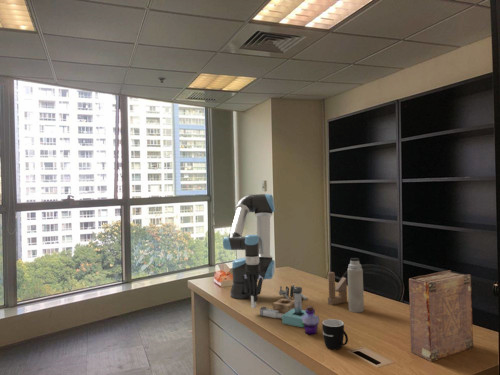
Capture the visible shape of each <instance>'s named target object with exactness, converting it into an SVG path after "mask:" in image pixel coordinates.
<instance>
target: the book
mask: <svg viewBox="0 0 500 375" xmlns="http://www.w3.org/2000/svg"><path fill="white" fill-rule="evenodd" d="M408 292H409V293H408V294H409V320H410V321H409V322H410V323H409V325H410V350H411V351H410V352H411V354H414V355H416V356H418V357H420V358H422V359H424V358H425V360H426V359H427V361H429V362H431V361H432V362H434V361H433V360H435V361H437V360H436V359H438V360H441V359H443V357H444V358H446V356H447V357H449V355H450V356H452V354H453V355H456V354H459V353H462V352H465V351H468V350H470V348H471V349H473V348H474V331H473V330H474V328H473V326H474V325H473V305H472V304H473V303H472V276H471V274H461V273H455V272H452V271H451V269H450V270H445V271H438V272H434V273H430V274H425V275H418V276H414V277H410V278H408ZM467 349H468V350H467ZM461 351H462V352H461ZM458 352H459V353H458ZM455 353H456V354H455ZM440 358H441V359H440Z"/></svg>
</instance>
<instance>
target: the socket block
mask: <svg viewBox="0 0 500 375" xmlns="http://www.w3.org/2000/svg"><path fill="white" fill-rule="evenodd" d="M304 315H307V313H306V309H305V310H304V309H302V315H301V316H298V315H295V309H294V308H293V309H291V310H290V311H288V312H287V313H285V314H284V315H282V319H281V321H282V322H281V323H282V324H283V325H289V326H293V327H294V326H295V327H300V328H304V327H303V326H304V325H303V326H302V322H303V321H302V316H304ZM313 315H315V313H313Z"/></svg>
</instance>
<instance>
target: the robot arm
mask: <svg viewBox="0 0 500 375" xmlns="http://www.w3.org/2000/svg"><path fill="white" fill-rule="evenodd" d="M275 212H276V206H275V200H274V197H273V195H272V194H267V193H262V194H247V195H244V196H243V197H242V198H240V199H239V200H238V201H237V203H236V205H235V207H234V217H233V220H232V223H231V226H230V231H229V232H228V236H224V237H223V239H222V247H223V249H224V250H227V251H235V250H236V251H238V250H239V251H244V254H245V256H244V257H240V258H236V259H234V260H233V261H232V263H231V264H232V265H231V266H232V267H231V272H232V286H231V288H230V289H231V290H230V291H229V292H230V294H229V295H230V297H231V298H233V299H239V300H240V299H241V300H242V299H249V302H250V306H251V307H250V308H251V309H255V308H257V302H258V296H260V295H261V292H262V288H263V287H262V285H263V282H264V280H271V279H273V277H274V276H275V275H274V274H275V269H276V267H275V266H276V262H275V260H274V259H273V256H272V255H271V217H272V216H273V213H275ZM250 213H254V216H255V217H256V234H246V235H245V236H243V232H244V229H245V225H246V220H247V217H248V215H249V214H250Z"/></svg>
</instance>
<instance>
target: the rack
mask: <svg viewBox="0 0 500 375" xmlns="http://www.w3.org/2000/svg"><path fill="white" fill-rule="evenodd" d="M293 308H294V309H295V305H294V299H291V300H289V299H286V298H282V297H281V298H279V299H278V300H276V301H275V302H273V303H272V310H278V311H279V313H282V314H285V313H287V312H288V311H290V310H291V309H293Z"/></svg>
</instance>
